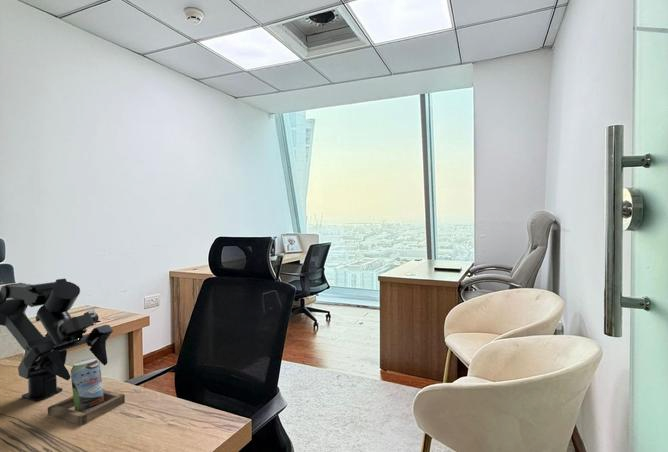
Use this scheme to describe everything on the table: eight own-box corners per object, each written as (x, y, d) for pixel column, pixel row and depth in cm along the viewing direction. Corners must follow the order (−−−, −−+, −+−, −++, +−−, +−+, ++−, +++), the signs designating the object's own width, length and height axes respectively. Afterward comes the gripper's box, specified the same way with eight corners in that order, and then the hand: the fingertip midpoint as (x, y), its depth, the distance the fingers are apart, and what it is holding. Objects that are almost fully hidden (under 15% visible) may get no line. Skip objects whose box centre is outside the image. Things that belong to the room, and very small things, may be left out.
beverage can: (89, 416, 84) (88, 367, 84) (63, 413, 85) (63, 364, 85) (110, 403, 90) (109, 357, 90) (86, 400, 92) (86, 354, 91)
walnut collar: (47, 415, 84) (47, 407, 84) (92, 394, 95) (92, 387, 95) (81, 425, 80) (81, 416, 80) (124, 402, 90) (124, 394, 90)
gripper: (30, 311, 80) (63, 366, 76) (108, 295, 97) (137, 339, 94) (9, 341, 83) (40, 396, 79) (88, 320, 100) (116, 364, 97)
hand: (88, 371), depth 87 cm, fingers open, 9 cm apart
